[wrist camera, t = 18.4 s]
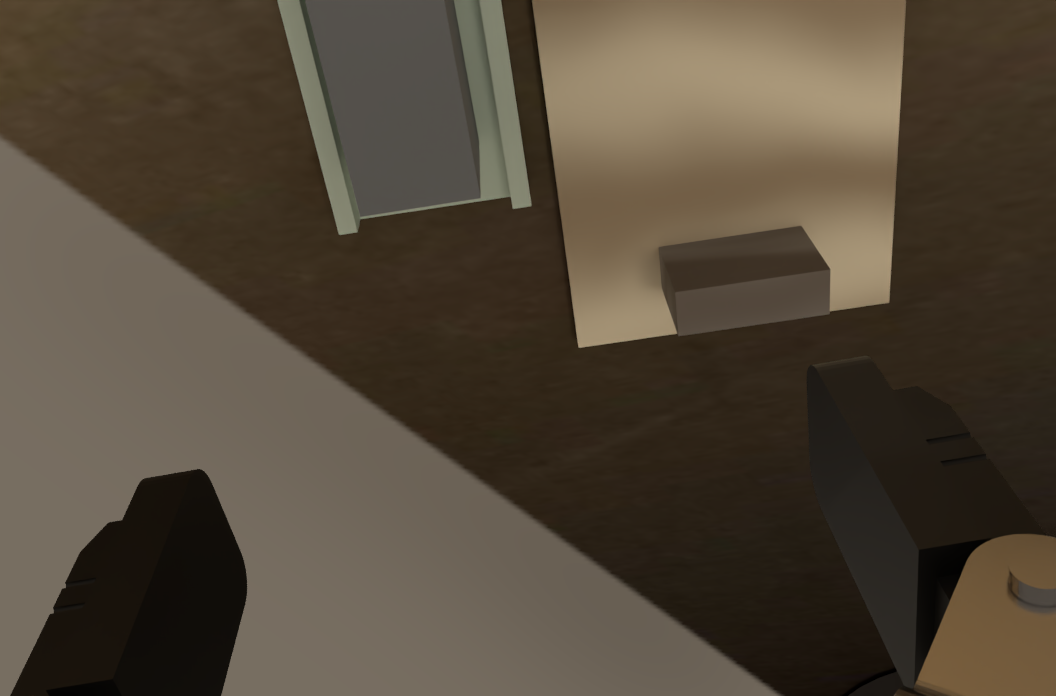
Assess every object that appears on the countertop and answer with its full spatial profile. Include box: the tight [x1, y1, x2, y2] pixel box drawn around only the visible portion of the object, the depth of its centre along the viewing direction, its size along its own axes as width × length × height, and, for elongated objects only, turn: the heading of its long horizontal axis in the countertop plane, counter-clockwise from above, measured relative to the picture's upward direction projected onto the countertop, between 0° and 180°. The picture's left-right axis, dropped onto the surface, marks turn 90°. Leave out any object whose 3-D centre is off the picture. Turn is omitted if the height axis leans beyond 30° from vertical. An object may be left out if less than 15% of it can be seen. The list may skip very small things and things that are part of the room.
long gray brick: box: [305, 0, 481, 217], centre depth 27 cm, size 10×3×4 cm, turn 8°
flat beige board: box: [532, 0, 906, 348], centre depth 29 cm, size 23×11×4 cm, turn 8°
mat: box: [277, 0, 531, 235], centre depth 29 cm, size 13×6×1 cm, turn 8°
